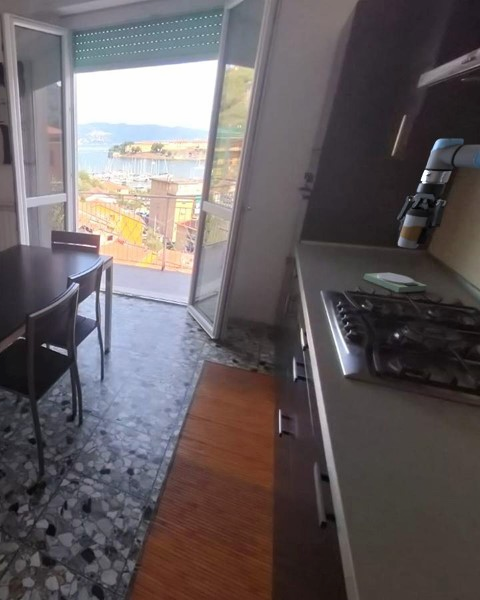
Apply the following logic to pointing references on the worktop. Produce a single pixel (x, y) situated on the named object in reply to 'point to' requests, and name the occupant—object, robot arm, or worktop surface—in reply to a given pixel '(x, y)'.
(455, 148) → the robot arm
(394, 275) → the kitchen scale
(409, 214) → the coffee cup
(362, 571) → the worktop surface
